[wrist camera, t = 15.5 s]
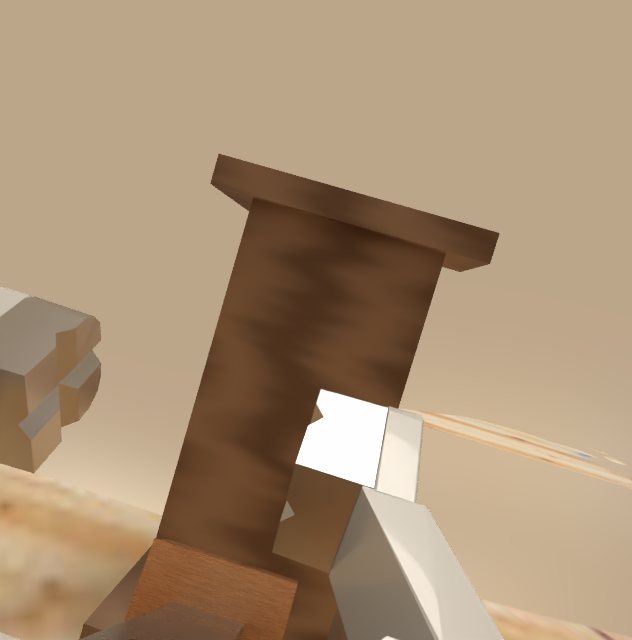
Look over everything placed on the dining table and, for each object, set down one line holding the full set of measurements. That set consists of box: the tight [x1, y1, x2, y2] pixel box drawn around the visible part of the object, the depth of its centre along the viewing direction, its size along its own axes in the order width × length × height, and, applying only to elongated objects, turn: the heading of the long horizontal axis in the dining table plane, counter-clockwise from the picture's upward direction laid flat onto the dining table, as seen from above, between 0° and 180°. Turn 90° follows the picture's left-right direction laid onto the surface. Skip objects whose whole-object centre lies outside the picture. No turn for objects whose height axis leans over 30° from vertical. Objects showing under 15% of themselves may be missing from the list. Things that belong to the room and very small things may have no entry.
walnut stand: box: [80, 154, 499, 640], centre depth 33 cm, size 14×10×26 cm
